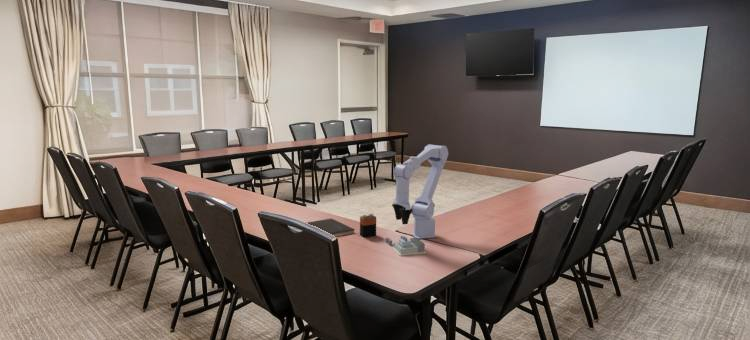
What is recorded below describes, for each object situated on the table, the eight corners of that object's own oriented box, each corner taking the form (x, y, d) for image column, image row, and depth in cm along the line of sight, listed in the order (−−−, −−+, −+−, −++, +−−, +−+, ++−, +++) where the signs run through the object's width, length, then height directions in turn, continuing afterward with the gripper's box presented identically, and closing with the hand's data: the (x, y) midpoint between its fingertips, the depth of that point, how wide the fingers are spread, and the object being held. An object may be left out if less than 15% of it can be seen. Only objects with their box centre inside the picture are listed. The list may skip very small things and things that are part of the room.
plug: (407, 248, 194) (407, 235, 193) (410, 251, 190) (411, 238, 189) (398, 248, 193) (399, 236, 192) (402, 252, 189) (402, 239, 188)
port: (417, 245, 198) (417, 236, 198) (426, 253, 189) (426, 243, 188) (391, 248, 195) (391, 238, 194) (399, 255, 185) (400, 245, 185)
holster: (402, 240, 205) (402, 236, 205) (406, 243, 201) (406, 239, 200) (386, 241, 203) (386, 237, 203) (389, 245, 198) (389, 241, 198)
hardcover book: (331, 222, 234) (331, 218, 234) (355, 234, 216) (355, 229, 215) (303, 227, 225) (303, 223, 225) (325, 239, 207) (325, 234, 206)
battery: (376, 235, 212) (376, 215, 210) (363, 237, 209) (363, 216, 207) (372, 233, 216) (372, 212, 214) (359, 234, 213) (359, 214, 211)
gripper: (388, 189, 203) (387, 218, 205) (400, 195, 190) (399, 227, 192) (402, 188, 205) (402, 217, 208) (415, 195, 192) (414, 225, 194)
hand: (401, 221), depth 200 cm, fingers open, 7 cm apart
